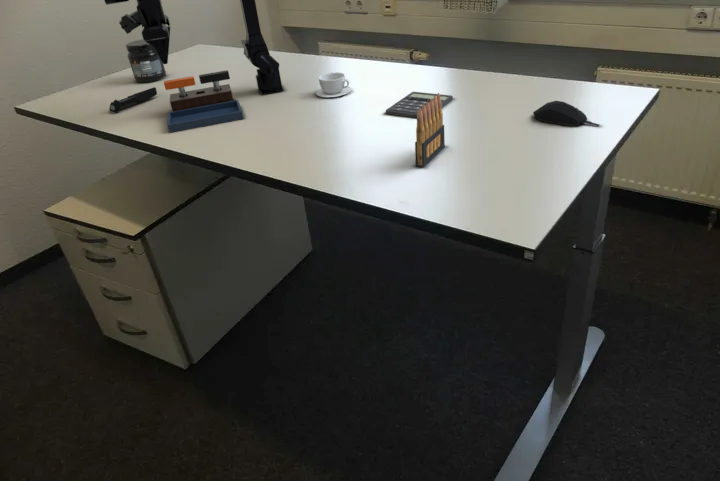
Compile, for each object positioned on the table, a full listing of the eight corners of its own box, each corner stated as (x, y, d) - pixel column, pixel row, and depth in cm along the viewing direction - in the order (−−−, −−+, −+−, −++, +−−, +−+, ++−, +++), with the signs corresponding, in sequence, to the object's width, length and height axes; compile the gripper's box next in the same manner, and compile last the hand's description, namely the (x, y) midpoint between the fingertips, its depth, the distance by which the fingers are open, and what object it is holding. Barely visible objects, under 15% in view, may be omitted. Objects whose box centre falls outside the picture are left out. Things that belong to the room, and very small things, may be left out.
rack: (232, 99, 159) (229, 83, 156) (235, 106, 153) (231, 90, 151) (174, 109, 156) (170, 94, 153) (174, 117, 150) (169, 101, 147)
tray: (239, 106, 153) (237, 99, 152) (243, 118, 144) (241, 111, 143) (170, 119, 149) (167, 112, 148) (169, 132, 140) (167, 125, 139)
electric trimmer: (161, 97, 168) (158, 87, 166) (116, 113, 158) (112, 103, 156) (154, 96, 170) (151, 85, 168) (109, 111, 160) (105, 101, 158)
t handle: (201, 107, 155) (193, 75, 150) (202, 109, 153) (193, 77, 149) (173, 112, 154) (163, 80, 149) (173, 115, 152) (163, 82, 147)
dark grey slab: (234, 101, 157) (227, 70, 152) (235, 103, 155) (228, 71, 150) (206, 106, 155) (198, 75, 150) (207, 108, 154) (199, 76, 149)
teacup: (310, 98, 153) (307, 81, 150) (325, 86, 161) (323, 70, 158) (342, 99, 149) (341, 82, 147) (356, 87, 157) (355, 71, 154)
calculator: (385, 109, 136) (412, 90, 147) (385, 113, 137) (413, 94, 147) (427, 115, 131) (453, 94, 141) (427, 118, 131) (453, 98, 142)
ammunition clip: (437, 145, 118) (436, 91, 112) (444, 146, 117) (444, 91, 111) (415, 166, 111) (413, 109, 104) (423, 167, 110) (421, 110, 103)
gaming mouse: (593, 131, 117) (596, 113, 115) (528, 119, 125) (529, 102, 123) (604, 121, 121) (607, 103, 118) (540, 110, 129) (542, 94, 127)
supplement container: (154, 72, 193) (144, 37, 186) (173, 75, 187) (163, 39, 180) (129, 81, 186) (117, 45, 179) (147, 85, 180) (136, 47, 174)
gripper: (118, -3, 146) (137, 57, 155) (111, 8, 131) (132, 73, 140) (161, -9, 148) (177, 50, 157) (158, 1, 133) (177, 66, 141)
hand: (165, 59), depth 149 cm, fingers open, 9 cm apart
